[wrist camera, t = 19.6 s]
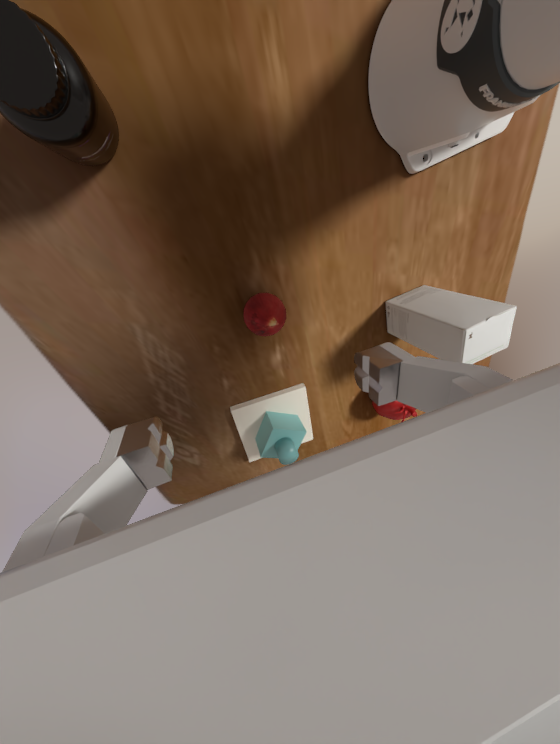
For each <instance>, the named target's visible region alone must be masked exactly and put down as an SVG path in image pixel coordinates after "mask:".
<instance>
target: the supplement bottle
mask: <svg viewBox="0 0 560 744" xmlns="http://www.w3.org/2000/svg"><path fill="white" fill-rule="evenodd" d="M0 113H1V114H2V115H3V116H4V117H5V118H6V119H7V120H8V121H9V122H10V123H11V124H12V125H13V126H14V127H16V128H17V129H18V130H20V131H21V132H22V133H24V134H25V135H27V136H28V137H30V138H32V139H33V140H35V141H37V142H39V143H41V144H42V145H44V146H46V147H48V148H49V149H51V150H53V151H55V152H57V153H58V154H60V155H62V156H64V157H65V158H67V159H69V160H71V161H73V162H76V163H78V164H82V165H86V166H98V165H102V164H104V163H106V162H107V161H109V160H110V159H111V158H112V157H113V155H114V154H115V152H116V150H117V146H118V141H119V132H118V126H117V122H116V118H115V116H114V113H113V111H112V109H111V107H110V105H109V103H108V101H107V100H106V98H105V96H104V95H103V93H102V92H101V90H100V89H99V87H98V86H97V84H96V82H95V81H94V79H93V78H92V76H91V75H90V73H89V71H88V70H87V68H86V67H85V65H84V64H83V62H82V61H81V59H80V57H79V56H78V55H77V53H76V52H75V51H74V49H73V48H72V47H71V45H70V44H69V43H68V42H67V41H66V40H65V38H64V37H63V36H62V35H61V34H60V33H59V32H58V31H57V30H55V29H54V28H53V27H52V26H51V25H49V24H48V23H47V22H45V21H44V20H43V19H41V18H40V17H38V16H36V15H35V14H33V13H31V12H29V11H26V10H24V9H21V8H19V7H18V5H17V4H15V3H14V2H11V1H9V0H0Z"/></svg>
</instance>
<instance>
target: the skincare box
mask: <svg viewBox="0 0 560 744" xmlns="http://www.w3.org/2000/svg"><path fill="white" fill-rule="evenodd" d="M516 308H517V306H514V305H510V304H505V303H501V302H497V301H492V300H488V299H483V298H479V297H474V296H470V295H465V294H461V293H456V292H452V291H447V290H443V289H438V288H434V287H430V286H426V285H423V286H421V287H418V288H416V289H414V290H411V291H409V292H406V293H404V294H402V295H399V296H397V297H395V298H392V299H390V300H388V301H386V318H387V332H388V333H390V334H392V335H394V336H396V337H398V338H400V339H402V340H404V341H406V342H408V343H410V344H412V345H414V346H415V347H418V348H420V349H421V350H423V351H425V352H427V353H429V354H431V355H433V356H435V357H437V358H439V359H441V360H446V361H453V362H459V363H466V364H473V363H476V362H478V361H480V360H482V359H484V358H486V357H488V356H490V355H492V354H494V353H496V352H499V351H501V350H503V349H505V348H507V347H508V344H509V340H510V335H511V330H512V325H513V321H514V317H515V312H516Z"/></svg>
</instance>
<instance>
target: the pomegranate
mask: <svg viewBox="0 0 560 744" xmlns="http://www.w3.org/2000/svg"><path fill="white" fill-rule="evenodd" d="M372 405H373V407H374V409H375V410H376V412H377V413H378V414H379V415H381V416H383V417H387V418H389V419H393V420H399V419H403V420H402V422H403V421H404V419H405V418H408V417H410V416H411V415H412V416H413V417H414V416H416V417H417V413H416V412H415V410H416V408H414V407H411V406H408V405H406V404H403V403H401V402H398V401H397V400H396V401H393V402H390V403H387V404H384V405H381V406H378V405H376V404H375V403H374V402H373V401H372Z"/></svg>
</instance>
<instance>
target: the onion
mask: <svg viewBox="0 0 560 744" xmlns="http://www.w3.org/2000/svg"><path fill="white" fill-rule="evenodd" d="M285 320H286V309H285V307H284V305H283V303H282V301H281V300H280V299H279V298H278V297H277V296H275V295H272V294H269V293H258V294H256V295H254V296H252V297H251V298H250V299H249V300H248V301H247V303H246V305H245V307H244V321H245V323H246V325H247V327H248V329H250V330H251V331H252V332H253V333H255V334H256V335H260V336H270V335H274V334H275V333H277V332H279V331H280V329H281V328H282V327H283V325H284V323H285Z"/></svg>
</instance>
